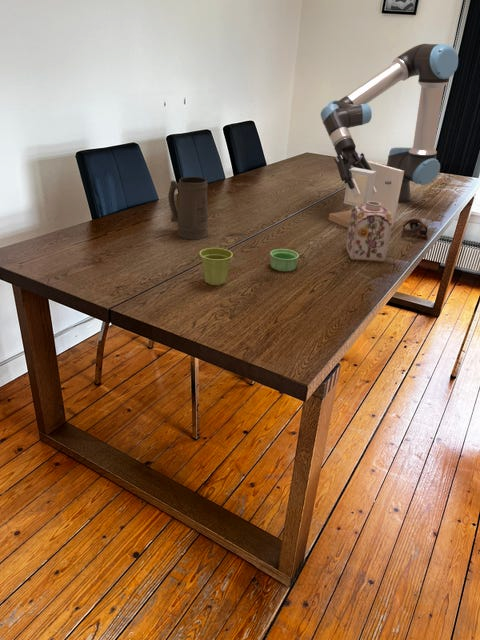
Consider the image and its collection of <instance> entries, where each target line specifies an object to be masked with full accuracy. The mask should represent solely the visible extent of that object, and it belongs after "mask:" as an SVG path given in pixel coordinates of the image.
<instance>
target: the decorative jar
mask: <svg viewBox="0 0 480 640" xmlns="http://www.w3.org/2000/svg"><path fill="white" fill-rule="evenodd" d="M351 210H352V212H351V217H350V223H349V228H347V229H348V230H347V237H346V244H345V248H346V249H345V250H346V251H347V253H348V255H349V258H350V260H352V261H353V260H354V261H369V262H385V261H386V259H387V254H388V248H389V244H390V243H389V242H390V237H391V231H392V228H393V227H392V218H391V212H390V211H389V209H387V208H384V207H382V206H381V203H379V202H375V201H368V202H367V203H366V205H358V206H354V208H353V209H351Z"/></svg>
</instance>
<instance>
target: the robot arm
mask: <svg viewBox="0 0 480 640" xmlns="http://www.w3.org/2000/svg"><path fill="white" fill-rule="evenodd" d="M458 67H459V56H458V53H457V51H456V50H455V48H454V47H453V46H451V45H448V44H442V43H437V44H436V43H420V44H417V45H414V46H413V47H411V48H409V49H407V50H406V51H405V52H403V53H401V54H400V55H398V56H397V57H395V58H394V59H393V60H392V63H391V64H389V65H388V66H387V67H386V68H383V69H382V70H381V71H380V72H378V73H377V74H375V75H373V76H372V77H371V78H369V79H368V80H367V81H365V82H364V83H362V84H361V85H359V86H358V87H357V88H355V89H354V90H352V91H351V92H349V93H348V94H346V95H345V96H343V97H342V98H341V99H338V100H331V101H329V103H328V104H327V105H326V106H324V107H323V108H322V110H321V111H320V119H321V120H322V124H323V125H324V128H325V129H326V130H325V131H326V132H327V135H328V137H329V139H330V142H331V143H332V145H333V147H334V151H335V153H336V156H335V158H334V159H333V160H334V162H335V163H336V167H337V170H338V172H339V175H340V176H339V177H340V180H341V181H342V182H344V184H347V183H348V185H349V188H350V189H351V190H352V193H353V195H354V197H355V198H356V197H358V196H359V195H360V194H361V193H360V191H359V189H358V187H357V184H356V182H355V180H354V179H352V174H351V172H350V170H349V169H351V168H354V167H355V168H361V169H366V170H372V169H371V168H370V166H369V164H368V163H367V159H366V157H365V153H363V152H361V153H358V152H357V151H356V148H357V147H356V144H355V142H354V139H353V138H352V134H351V133H350V130H349V129H350V128H354V127H358V126H363V125H366V124H369V123H370V122H371V120H372V113H373V111H372V108H371V106H370V105H369V103H370V102H372V101H373V100H374V99H376V98H378V97H379V96H380V95H382V94H384V93H385V92H386V91H388V90H389V89H391V88H392V87H394V86H395V85H396V84H397V83H400V82H401V81H403V82H404V81H406V80H408V79H409V78H412V77H416V76H418V80H417V81H418V82H417V83H418V84H419V85H420V87H421V89H420V95H419V101H418V109H417V118H416V121H415V122H416V123H415V128H414V129H415V130H414V136H413V137H414V139H413V144H412V147H400V146H399V147H392V148H390V150H389V154H388V156H387V163H386V166H389V167H392V168H396V169H399V170H403V171H404V175H403V180H402V185H401V190H400V195H399V200H398V203H407V202H409V201H411V198H412V197H411V196H412V194H411V185H410V184H411V182H412V183H414V184H417V185H421V186H425V185H429V184H431V183H432V182H433V181H434V180H435V179H436V178H437V177H438V176H439V173H440V171H441V163H440V162H439V160H438V159H437V153H438V151H437V150H436V149H435V143H436V136H437V130H438V124H439V118H440V113H441V105H442V99H443V94H444V87H445V86H446V85H448V84H449V82H450V78H451V77H452V76H453V75H454V74H455V72H456V71H457V69H458ZM376 192H377V191H376V189H375V187H374V188H373V193H372V195H373V194H375V193H376Z"/></svg>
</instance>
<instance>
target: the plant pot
mask: <svg viewBox="0 0 480 640" xmlns="http://www.w3.org/2000/svg"><path fill="white" fill-rule="evenodd" d="M199 256H200V259H201V261H202V269H203V276H204V278H203V279H204V282H205V283H206V284H207V283H208V284H209V285H211V286H221V285H222V284H225V283H226V282H227V281H226V280H227V277H228V271H229V265H230V262H231V260H232V257H233V252H232V251H231V250H229V249H226V248H222V247H221V248H220V247H209V248H203V249H201V250H200V251H199Z"/></svg>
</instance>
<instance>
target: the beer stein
mask: <svg viewBox="0 0 480 640" xmlns="http://www.w3.org/2000/svg"><path fill="white" fill-rule="evenodd" d="M208 186H209V184H208V181H207V179H206V178H205V177H198V176H185V177H181V178H180V179H179V180H178V182H177V181H176V180H170V187H169V191H168V194H167V195H168V196H167V197H168V205H169V207H170V210H171V213H172V214H171V215H172V216H171V219H170V220H171V222H172V223H174V222H176V223H177V227H178V230H177V235H178V237H180V238H181V239H185V240H202V239H205V238H206V237H207V236H208V233H209V232H208V222H209V221H208V217H209V215H208V205H209V204H208ZM176 190H178V196H177V206H176V201H175V191H176Z"/></svg>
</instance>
